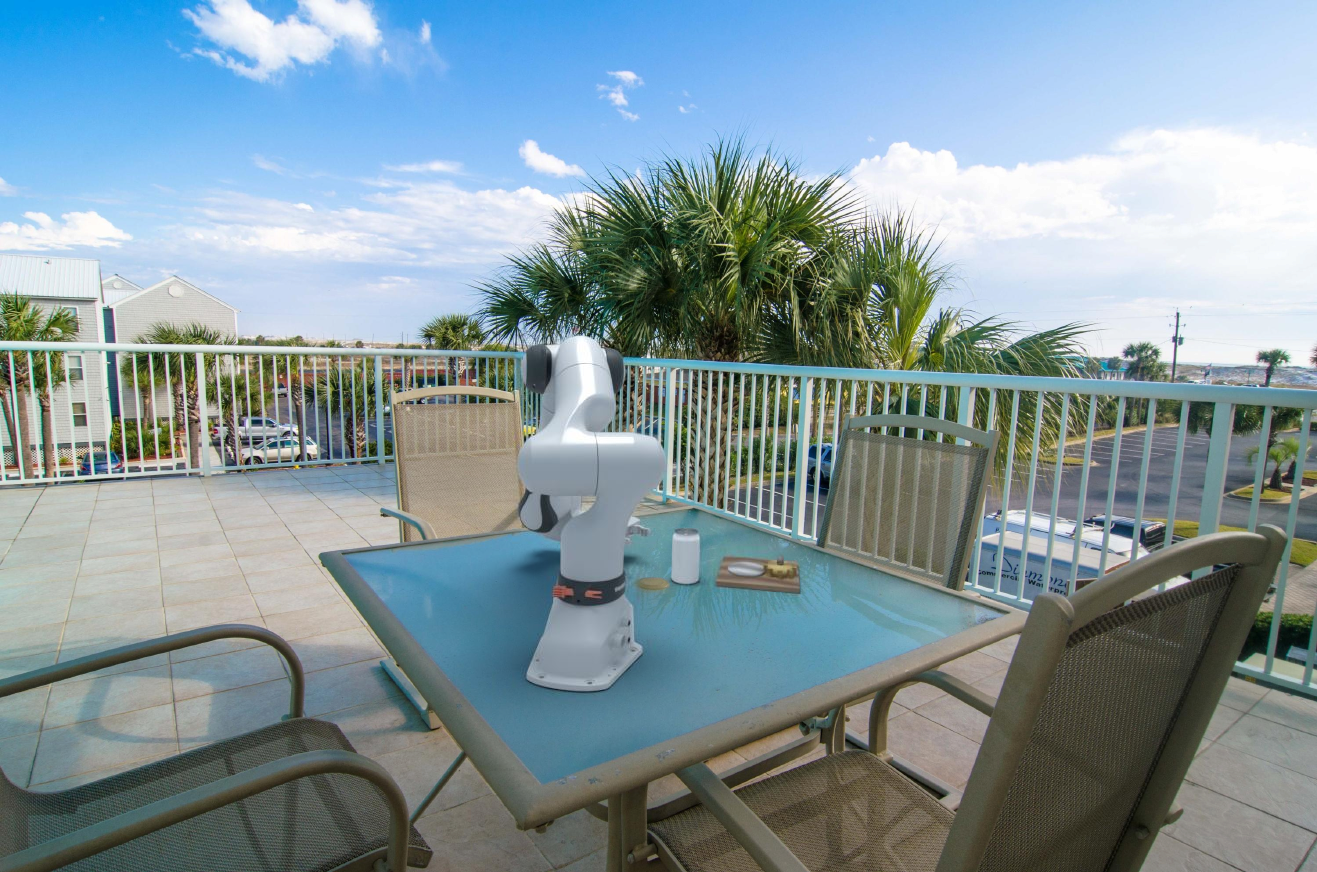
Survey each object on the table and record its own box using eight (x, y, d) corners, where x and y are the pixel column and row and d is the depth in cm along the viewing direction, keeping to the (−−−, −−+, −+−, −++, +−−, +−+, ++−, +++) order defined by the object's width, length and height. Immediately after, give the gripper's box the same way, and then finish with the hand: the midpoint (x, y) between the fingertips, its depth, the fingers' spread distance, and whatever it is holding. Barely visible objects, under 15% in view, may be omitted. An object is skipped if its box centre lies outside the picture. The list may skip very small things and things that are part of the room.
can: (699, 576, 156) (700, 528, 154) (698, 585, 149) (699, 535, 148) (672, 575, 156) (673, 526, 155) (670, 584, 150) (671, 533, 148)
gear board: (799, 593, 146) (800, 569, 145) (715, 585, 149) (716, 562, 149) (797, 566, 165) (798, 545, 165) (723, 560, 169) (724, 539, 168)
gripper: (568, 526, 154) (619, 535, 148) (611, 508, 172) (658, 515, 166) (568, 552, 154) (618, 561, 148) (611, 531, 173) (657, 539, 167)
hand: (639, 537), depth 157 cm, fingers open, 8 cm apart
